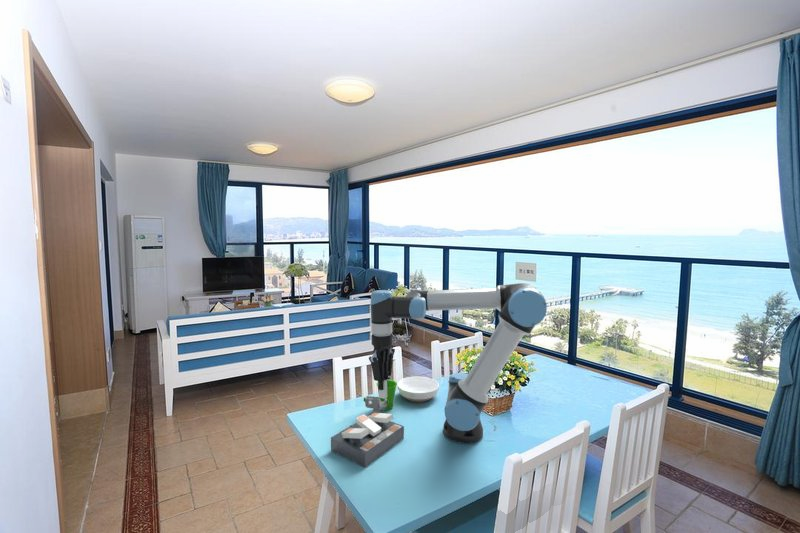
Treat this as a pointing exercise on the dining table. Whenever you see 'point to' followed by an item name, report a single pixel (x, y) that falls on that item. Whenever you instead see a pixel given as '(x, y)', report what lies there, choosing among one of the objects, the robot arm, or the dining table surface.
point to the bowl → (418, 388)
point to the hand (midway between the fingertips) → (383, 397)
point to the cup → (389, 394)
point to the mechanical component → (375, 403)
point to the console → (367, 443)
